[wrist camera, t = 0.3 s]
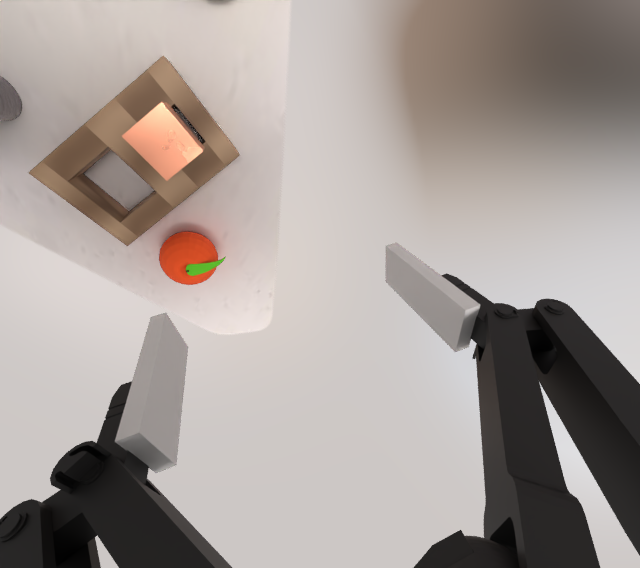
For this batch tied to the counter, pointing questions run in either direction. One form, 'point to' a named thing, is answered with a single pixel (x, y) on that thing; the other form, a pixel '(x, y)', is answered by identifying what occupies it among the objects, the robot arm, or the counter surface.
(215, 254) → the clementine
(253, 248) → the counter surface
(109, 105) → the mount block
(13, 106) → the grey capped cylinder
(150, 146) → the pin
